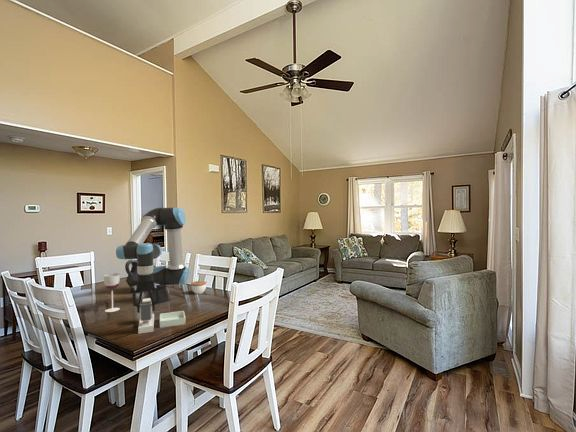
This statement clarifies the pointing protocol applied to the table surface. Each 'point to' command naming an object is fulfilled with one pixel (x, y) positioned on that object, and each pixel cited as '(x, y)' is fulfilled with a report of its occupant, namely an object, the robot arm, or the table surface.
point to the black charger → (146, 311)
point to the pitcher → (132, 274)
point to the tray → (172, 319)
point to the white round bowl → (198, 287)
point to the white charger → (146, 300)
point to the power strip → (146, 326)
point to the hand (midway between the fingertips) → (146, 317)
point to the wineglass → (112, 286)
